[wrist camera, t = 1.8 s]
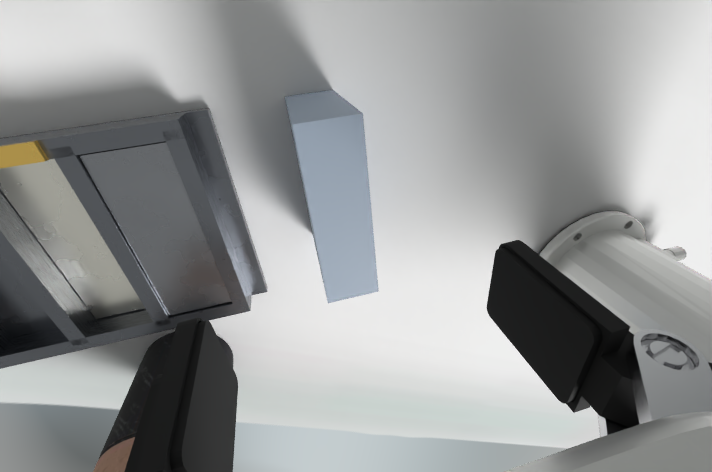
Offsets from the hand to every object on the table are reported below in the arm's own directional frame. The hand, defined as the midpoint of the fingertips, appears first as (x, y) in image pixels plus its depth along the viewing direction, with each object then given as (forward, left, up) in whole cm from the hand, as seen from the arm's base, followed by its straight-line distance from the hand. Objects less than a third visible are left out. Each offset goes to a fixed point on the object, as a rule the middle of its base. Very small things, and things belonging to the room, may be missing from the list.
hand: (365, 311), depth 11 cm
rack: (+15, +2, -14) cm, 21 cm away
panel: (-1, 0, -15) cm, 15 cm away
